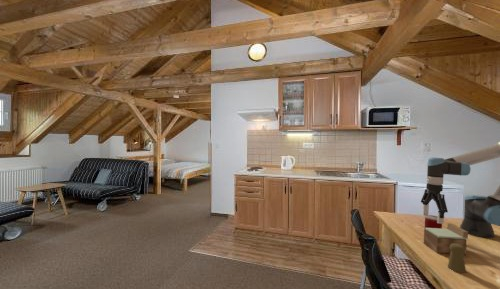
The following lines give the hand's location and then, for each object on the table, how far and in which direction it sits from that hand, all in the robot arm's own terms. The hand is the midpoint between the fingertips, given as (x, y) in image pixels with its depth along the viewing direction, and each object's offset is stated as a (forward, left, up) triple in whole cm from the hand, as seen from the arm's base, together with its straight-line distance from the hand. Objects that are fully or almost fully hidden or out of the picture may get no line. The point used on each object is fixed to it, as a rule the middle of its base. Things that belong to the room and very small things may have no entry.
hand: (432, 219), depth 138 cm
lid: (+5, +18, -2) cm, 19 cm away
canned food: (0, 0, -10) cm, 10 cm away
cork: (+13, +38, -10) cm, 41 cm away
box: (+5, +18, -10) cm, 21 cm away
